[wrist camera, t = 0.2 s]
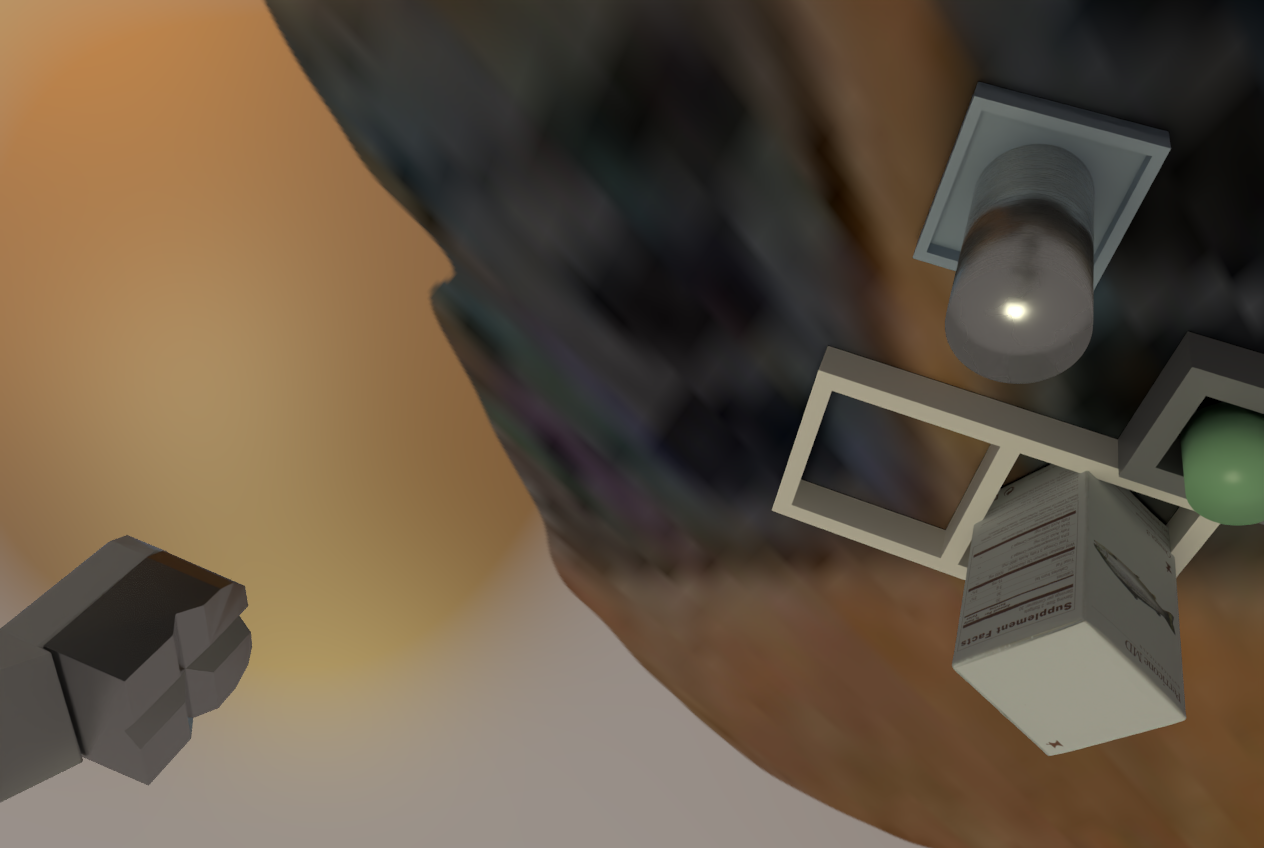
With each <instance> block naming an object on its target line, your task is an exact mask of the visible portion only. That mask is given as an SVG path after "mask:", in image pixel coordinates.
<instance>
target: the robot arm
mask: <svg viewBox="0 0 1264 848" xmlns="http://www.w3.org/2000/svg"><path fill="white" fill-rule="evenodd" d="M247 607H248V603H247V596H246V590H245V586H244V585H241V584H239V583H237V582H235V581H232V580H230V579H227V578H225V577H223V576H221V575H218V574H216V573H214V572H211V571H209V570H207V569H204V568H202V567H200V566H197V565H195V564H193V563H191V562H188V561H186V560H184V559H181V558H179V557H177V556H174V555H172V554H170V553H168V552H167V551H164V550H162V549H159V548H157V547H155V546H152V545H150V544H147V543H145V542H142V541H140V540H138V539H135V538H133V537H130V536H128V535H126V536H124V537H121V538H118V539H115V540H112V541H110V542H108V543H107V544H106V545H104V546H103V547H102V548H101V549H99V550H98V551H97V552H96V553H94V554H93V555H92V556H91V557H90V558H88V559H87V560H86V561H84V562H83V563H82V564H81V565H79V566H78V567H77V568H76V569H74V570H73V571H72V572H71V573H69V574H68V575H67V576H66V577H64V578H63V579H62V580H61V581H59V582H58V583H57V584H56V585H54V586H53V587H52V588H51V589H49V590H48V591H47V592H46V593H44V594H43V595H42V596H41V597H39V598H38V599H37V600H36V601H34V602H33V603H32V604H31V605H29V606H28V607H27V608H26V609H24V610H23V611H22V612H21V613H19V614H18V615H17V616H16V617H15V618H13V619H12V620H11V621H9V622H8V623H7V624H6V625H4V626H3V627H2V628H1V629H0V802H2V801H4V800H6V799H8V798H10V797H12V796H14V795H16V794H18V793H21V792H22V791H24V790H27V789H29V788H31V787H33V786H35V785H37V784H39V783H41V782H43V781H45V780H47V779H49V778H51V777H53V776H55V775H57V774H59V773H61V772H63V771H65V770H67V769H69V768H71V767H73V766H75V765H77V764H79V763H81V762H82V761H83V759H82V757H84V758H87V759H89V760H91V761H94V762H96V763H98V764H100V765H103V766H105V767H107V768H110V769H112V770H114V771H117V772H119V773H121V774H123V775H126V776H128V777H130V778H133V779H135V780H137V781H140V782H142V783H144V784H146V785H149V784H150V783H151V782H152V781H153V780H154V779H155V778H156V777H157V775H158V774H159V773H160V772H161V771H162V770H163V769H164V768H165V767H166V765H167V764H168V763H169V762H170V761H171V760H172V759H173V758H174V757H175V756H176V755H177V753H178V752H179V751H180V750H181V749H182V748H183V747H184V746H185V745H186V743H187V742H188V741H189V740H190V739H191V734H192V733H191V732H192V723H193V718H194V717H197V716H199V715H202V714H204V713H207V712H209V711H212V710H214V709H217V708H219V707H220V705H221V704H222V703H223V702H224V701H225V700H226V698H227V697H228V696H229V695H230V694H231V693H232V691H233V690H234V689H235V688H236V686H237V684H238V682H239V681H240V679H241V677H242V675H243V673H244V671H245V669H246V668H247V666H248V663H249V658H250V654H251V649H252V641H251V632H250V631H249V629H248V628H247V626H246V625H245V623H244V622H243V620H242V619H241V617H240V616H239V615H240V614H241V613H242V612H243V611H244V610H245V609H246V608H247Z"/></svg>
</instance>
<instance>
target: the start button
mask: <svg viewBox="0 0 1264 848" xmlns="http://www.w3.org/2000/svg"><path fill="white" fill-rule="evenodd" d="M1180 443H1181V453H1182V463H1183V473H1184V483H1185V494H1186V498H1187V501H1188V503H1189V505H1190V506H1191V507H1192V509H1193V510H1194V511H1195V512H1197V513H1198V514H1199V515H1201V516H1202V517H1204V518H1206V519H1208V520H1211V521H1213V522H1217V523H1220V524H1226V525H1250V524H1255V523H1259V522H1262V521H1264V414H1262V413H1259V412H1256V411H1253V410H1250V409H1246V408H1243V407H1240V406H1237V405H1233V404H1230V403H1227V402H1221V403H1216V404H1212V405H1209V406H1207V407H1204V408H1202V409H1200V410H1198V411H1197V412H1195V413H1194V414H1193V415H1192V416H1191V418H1190V419H1189V421H1188V422H1187V423H1186V425H1185V426H1184V428H1183V429H1182V431H1181V434H1180Z"/></svg>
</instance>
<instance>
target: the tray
mask: <svg viewBox="0 0 1264 848" xmlns="http://www.w3.org/2000/svg"><path fill="white" fill-rule="evenodd" d="M1030 144H1048V145H1053V146H1057V147H1060V148H1063V149H1065V150H1067V151H1069V152H1071V153H1072V154H1074V155H1075V156H1077V157H1078V158H1079V159H1080V160H1081V161H1082V162H1083V163H1084V164H1085V165H1086V167H1087V168H1088V170H1089V172H1090V174H1091V176H1092V179H1093V183H1094V192H1095V201H1094V281H1093V291H1094V289H1095V287H1096V285H1097V284H1098V282H1099V280H1100V278H1101V276H1102V274H1103V273H1104V271H1105V269H1106V267H1107V265H1108V263H1109V261H1110V260H1111V258H1112V256H1113V254H1114V252H1115V250H1116V249H1117V247H1118V245H1119V243H1120V241H1121V239H1122V238H1123V236H1124V234H1125V232H1126V230H1127V228H1128V226H1129V225H1130V223H1131V221H1132V219H1133V217H1134V215H1135V214H1136V212H1137V210H1138V208H1139V206H1140V204H1141V203H1142V201H1143V199H1144V197H1145V195H1146V193H1147V192H1148V190H1149V188H1150V186H1151V184H1152V182H1153V180H1154V179H1155V177H1156V175H1157V173H1158V171H1159V169H1160V168H1161V166H1162V164H1163V162H1164V160H1165V158H1166V157H1167V155H1168V153H1169V151H1170V149H1171V146H1170V138H1169V132H1168V131H1164V130H1160V129H1156V128H1153V127H1149V126H1145V125H1141V124H1138V123H1134V122H1130V121H1126V120H1122V119H1119V118H1115V117H1111V116H1107V115H1103V114H1100V113H1096V112H1092V111H1088V110H1084V109H1081V108H1077V107H1073V106H1069V105H1065V104H1062V103H1058V102H1054V101H1050V100H1047V99H1043V98H1039V97H1035V96H1031V95H1028V94H1024V93H1020V92H1016V91H1012V90H1009V89H1005V88H1001V87H997V86H993V85H990V84H986V83H982V82H978V83H977V86H976V88H975V91H974V94H973V96H972V99H971V102H970V104H969V107H968V110H967V112H966V115H965V118H964V120H963V123H962V125H961V128H960V131H959V133H958V136H957V139H956V141H955V144H954V147H953V149H952V152H951V154H950V157H949V160H948V162H947V165H946V168H945V170H944V173H943V176H942V178H941V181H940V183H939V186H938V189H937V191H936V194H935V197H934V199H933V202H932V205H931V207H930V210H929V213H928V215H927V218H926V220H925V223H924V226H923V228H922V231H921V234H920V236H919V239H918V242H917V245H916V248H915V252H914V255H913V258H914V259H917V260H921V261H924V262H927V263H931V264H934V265H937V266H940V267H944V268H947V269H950V270H954V271H956V269H957V265H958V260H959V256H960V251H961V247H962V243H963V238H964V234H965V229H966V225H967V221H968V216H969V212H970V207H971V203H972V199H973V194H974V190H975V187H976V183H977V181H978V179H979V177H980V175H981V174H982V172H983V171H984V169H985V168H986V167H987V166H988V165H989V164H990V163H991V162H992V161H993V160H994V159H995V158H997V157H998V156H1000V155H1001V154H1003V153H1005V152H1007V151H1009V150H1011V149H1014V148H1016V147H1020V146H1023V145H1030Z"/></svg>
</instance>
